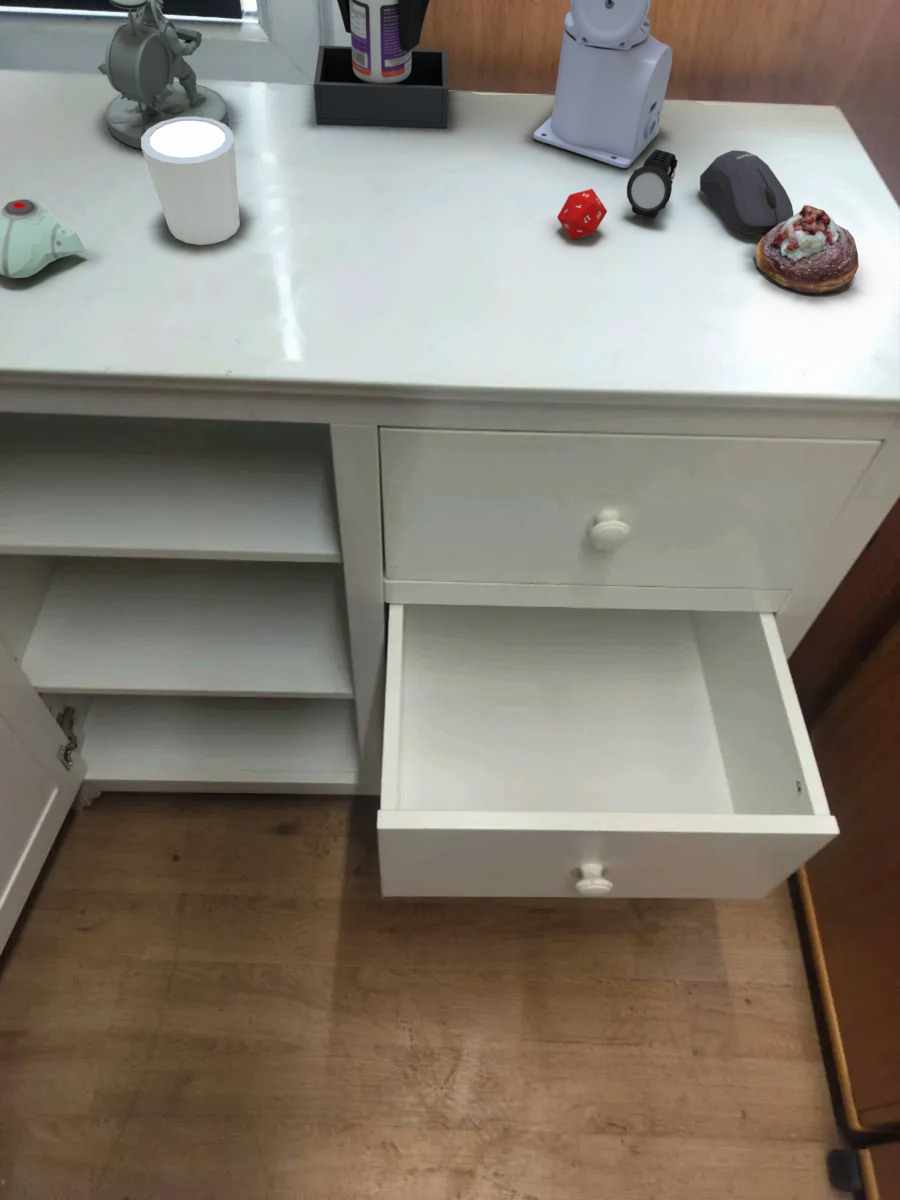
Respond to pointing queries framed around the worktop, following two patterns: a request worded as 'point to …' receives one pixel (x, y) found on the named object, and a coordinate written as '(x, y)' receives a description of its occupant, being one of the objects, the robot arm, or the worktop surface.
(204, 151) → the white cylinder
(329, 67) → the bin
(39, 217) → the robot head
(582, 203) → the die
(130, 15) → the figurine
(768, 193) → the computer mouse
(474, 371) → the worktop surface
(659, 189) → the smartwatch
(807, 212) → the pastry
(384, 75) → the pill bottle
